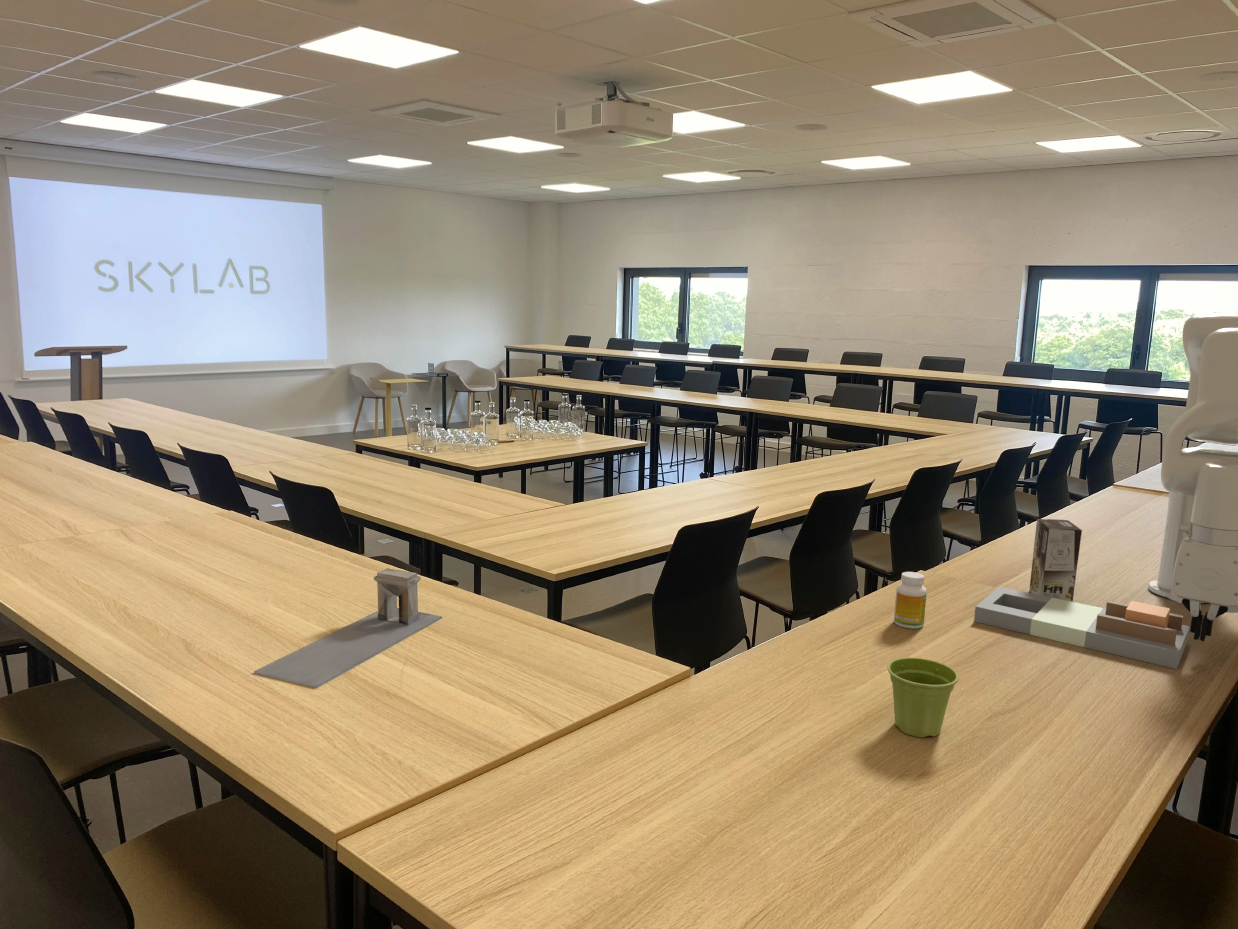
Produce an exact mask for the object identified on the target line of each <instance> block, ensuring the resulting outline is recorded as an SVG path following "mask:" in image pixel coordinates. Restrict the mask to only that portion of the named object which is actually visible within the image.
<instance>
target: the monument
mask: <svg viewBox="0 0 1238 929" xmlns="http://www.w3.org/2000/svg"><path fill="white" fill-rule="evenodd" d="M421 578H422V577H421V576H418V573H417V572H411V571H406V570H399V569H395V568H387V567H386V568H385V569H382V570H380V571H378V572H376V576H374V577H373V580H374V582H377V585H376V586H377V611H375V612H373V613H370V614H368V615H367V616H365V617H362V618H359V619H358V620H356V621H354V622H352V623H350V624H348V625H345V626H344V627H342V628H340V629H338V630H336V631H334V632H331V633H329V634H327V635H326V636H323V637H322V638H319V639H317V640H315V641H313V642H311V643H308V644H307V645H305V646H303V647H301V648H299V649H296V650H295V651H293V652H291V653H289V654H286V655H284V656H282V657H280V658H278V659H277V660H275V661H272V662H269V663H268V664H265V665H264V666H262V667H260V668H258V669H255V670H254V671H253V674H254V675H259V676H264V677H267V678H271V679H275V680H278V681H279V680H280V681H283V682H288V683H293V684H296V685H300V686H305V687H309V688H312V689H318V688H320V687H322V686H324V685H325V684H327V683H329V682H330V681H332V680H334V679H336V678H338V677H340V676H342V675H343V674H345V673H346V672H349V671H350V670H352V669H354V668H356V667H357V666H359V665H361V664H363V663H365V662H367V661H369V660H370V659H372V658H373V657H375V656H377V655H379V654H381V653H383V652H385V651H386V650H388V649H390V648H392V647H393V646H395V645H397V644H399V643H400V642H402V641H404V640H406V639H407V638H409V637H411V636H413V635H414V634H416V633H418V632H420V631H423V630H424V629H426V628H427V627H429V626H431V625H433V624H434V623H436V622H438V621H439V620H441V619H443V616H442V615H438V614H431V613H426V612H421V611H419V603H418V602H419V600H418V599H419V598H418V597H419V596H418V595H419V594H418V590H419V589H418V583H419V582H420V581H421Z"/></svg>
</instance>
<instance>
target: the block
mask: <svg viewBox="0 0 1238 929" xmlns="http://www.w3.org/2000/svg"><path fill="white" fill-rule="evenodd" d="M1128 605H1129V606H1128V607H1127V609H1126V613H1125V619H1127V620H1132V621H1137V622H1142V623H1146V624H1151V625H1156V626H1161V627H1165V628H1167V626H1168V619H1169V613H1171V612H1170V611H1171V608H1170V607H1165V606H1160V605H1155V604H1154V605H1153V604H1150V603H1145V602H1139V601H1134V600H1131V601H1130V602H1129V604H1128Z"/></svg>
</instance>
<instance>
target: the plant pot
mask: <svg viewBox="0 0 1238 929" xmlns="http://www.w3.org/2000/svg"><path fill="white" fill-rule="evenodd" d="M886 670H887V672H888V673H889V674H890V675H889V676H890V681H891V683H892V684H891V685H892V696H893V697H892V698H893V711H894V712H893V713H894V723H895V726H896V727H898V729H899V730H900V731H901V732H903V733H904V734H906V735H909V736H912V737H916V738H925V737H928V736H932V737H933V738H934V737H936V736H938V735H939V734H940V733H941V730H942V726H943V724H944V723H943V722H944V718H945V715H946V711H947V710H946V709H947V706H948V703H949V699H950V695H951V693H952V691H953V690H954V687H955V685H956V684H957V683H958V681H959V678H960V677H959V673H958V672H957V671H956V670H955V669H954V668H953V667H951V666H949V665H948V664H945V663H942V662H940V661H937V660H932V659H930V658H929V659H928V658H922V657H910V656H909V657H900V658H896V659H893V660H891V661H889V663H888V664H887V667H886Z"/></svg>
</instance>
